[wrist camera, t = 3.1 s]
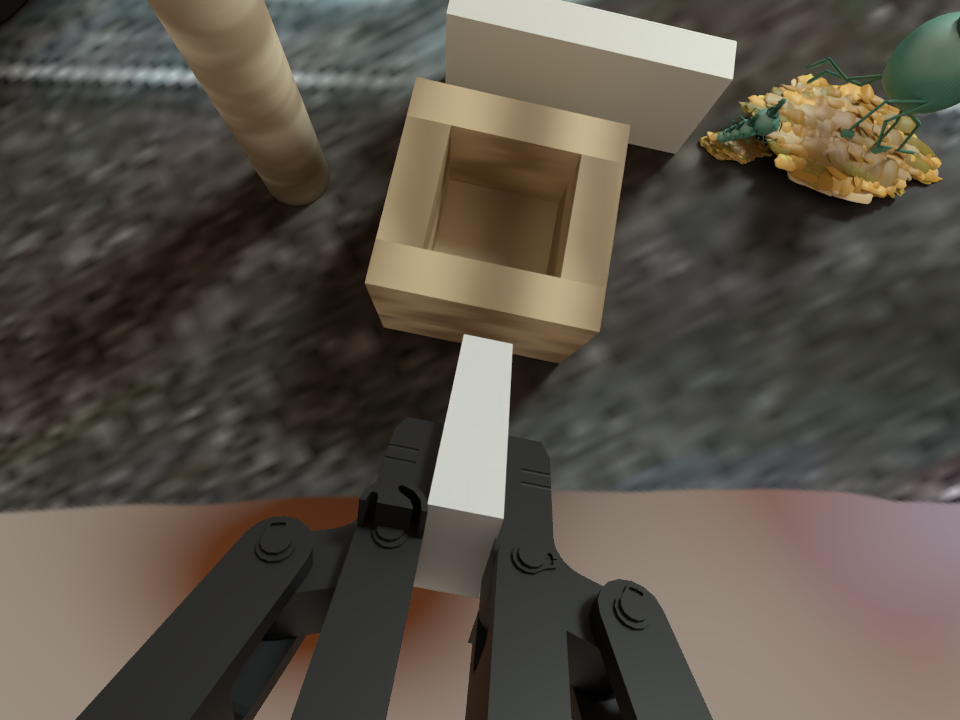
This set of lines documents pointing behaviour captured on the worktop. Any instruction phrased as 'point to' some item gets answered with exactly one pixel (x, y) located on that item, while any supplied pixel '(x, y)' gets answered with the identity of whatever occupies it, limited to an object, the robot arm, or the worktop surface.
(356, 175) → the worktop surface
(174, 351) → the worktop surface
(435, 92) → the block
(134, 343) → the worktop surface
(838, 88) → the green yellow irregular piece
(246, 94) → the dowel
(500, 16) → the backstop
